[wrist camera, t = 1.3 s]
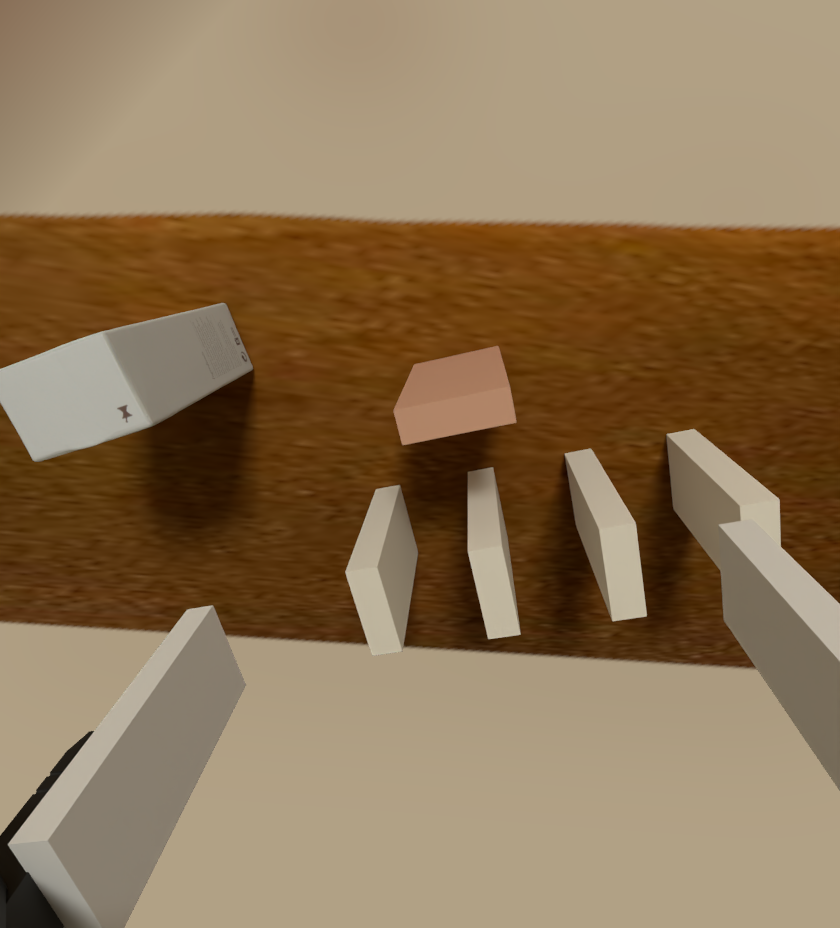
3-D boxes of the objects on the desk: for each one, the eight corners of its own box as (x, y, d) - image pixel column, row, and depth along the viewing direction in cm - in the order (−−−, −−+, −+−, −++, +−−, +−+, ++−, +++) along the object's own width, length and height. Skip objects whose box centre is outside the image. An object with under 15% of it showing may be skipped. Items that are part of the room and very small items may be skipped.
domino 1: (394, 556, 39) (372, 655, 29) (375, 489, 37) (345, 572, 28) (418, 552, 38) (402, 651, 29) (400, 484, 37) (377, 566, 27)
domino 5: (673, 508, 36) (744, 602, 27) (666, 434, 34) (740, 506, 25) (700, 504, 36) (781, 597, 26) (694, 428, 34) (779, 499, 25)
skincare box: (226, 299, 33) (105, 328, 22) (256, 369, 35) (155, 429, 24) (136, 331, 34) (-22, 374, 23) (168, 397, 36) (33, 468, 25)
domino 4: (576, 525, 37) (612, 621, 27) (564, 453, 35) (599, 529, 26) (601, 521, 37) (646, 616, 27) (591, 448, 35) (635, 523, 26)
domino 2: (503, 372, 34) (516, 422, 24) (420, 390, 34) (402, 445, 25) (498, 345, 33) (509, 386, 24) (414, 364, 34) (393, 410, 25)
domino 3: (483, 541, 38) (488, 639, 28) (467, 471, 36) (467, 551, 27) (507, 537, 37) (520, 634, 28) (492, 467, 36) (501, 545, 26)
